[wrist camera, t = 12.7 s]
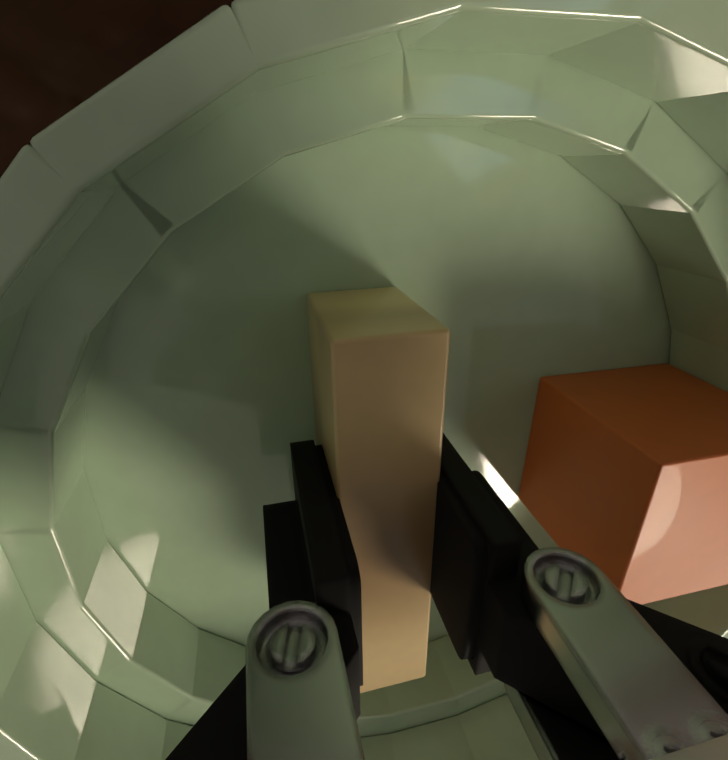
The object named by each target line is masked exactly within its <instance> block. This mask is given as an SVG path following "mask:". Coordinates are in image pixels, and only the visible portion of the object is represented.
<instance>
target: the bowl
mask: <svg viewBox="0 0 728 760" xmlns="http://www.w3.org/2000/svg"><path fill="white" fill-rule="evenodd" d="M30 143H31V144H27V145H25V146H22V147H21V149H20V150H19V152H18V153H17V154H16V156H15V157H14V159H13V160H12V161H11V163H10V164H9V166H8V167H7V169H6V170H5V171H4V173H3V174H2V176H1V177H0V760H165V759H166V758H167V757H168V756H169V754H170V753H171V752H172V751H173V750H174V748H175V747H176V746H177V745H178V744H179V743H180V741H181V740H182V739H183V738H184V737H185V735H186V734H187V733H188V732H189V731H190V730H191V728H192V727H193V726H194V725H195V724H196V723H197V721H198V720H199V719H200V718H201V717H202V715H203V714H204V713H205V712H206V711H207V710H208V708H209V707H210V706H211V705H212V704H213V702H214V701H215V700H216V699H217V698H218V697H219V695H220V694H221V693H222V692H223V691H224V689H225V688H226V687H227V686H228V685H229V684H230V682H231V681H232V680H233V679H234V678H235V676H236V675H237V674H238V673H239V672H240V671H241V669H242V668H243V667H244V666H245V665H246V654H245V650H246V643H247V637H248V635H249V633H250V631H251V629H252V627H253V625H254V623H255V622H256V621H257V620H258V619H259V618H260V617H261V616H262V614H263V613H265V612H266V611H268V610H269V598H268V582H267V566H266V550H265V535H264V519H263V505H269V504H275V503H281V502H287V501H293V500H295V492H294V481H293V471H292V461H291V451H290V443H292V442H299V441H306V440H314V443H315V445H317V443H316V429H315V414H314V399H313V384H312V369H311V354H310V339H309V324H308V309H307V295H308V294H309V293H314V292H328V291H341V290H355V289H369V288H383V287H397V288H398V289H400V290H401V291H402V292H403V293H405V294H406V295H407V296H408V297H410V298H411V299H412V300H413V301H415V302H416V303H417V304H418V305H420V306H421V307H422V308H423V309H425V310H426V311H427V312H428V313H430V314H431V315H432V316H433V317H435V318H436V319H437V320H438V321H440V322H441V323H442V324H443V325H445V326H446V327H447V328H448V329H449V331H450V341H449V355H448V369H447V383H446V397H445V411H444V425H443V433H444V434H445V436H446V437H447V438H448V440H449V441H450V442H451V444H452V445H453V447H454V448H455V449H456V451H457V452H458V453H459V455H460V456H461V457H462V459H463V460H464V461H465V463H466V464H467V465H468V467H469V468H470V469H471V471H474V470H476V471H479V472H480V473H481V474H482V475H483V476H484V478H485V479H486V480H487V482H488V483H489V484H490V485H491V487H492V488H493V489H494V491H495V492H496V493H497V495H498V496H499V497H500V498H501V500H502V501H503V502H504V504H505V505H506V506H507V508H508V509H509V510H510V512H511V513H512V514H513V515H514V517H515V518H516V519H517V521H518V522H519V523H520V525H521V526H522V527H523V528H524V530H525V531H526V532H527V534H528V535H529V536H530V538H531V539H532V540H533V542H534V543H535V544H536V545H537V547H538V548H539V549H541V548H545V547H558V545H557V544H556V543H555V542H554V540H553V539H552V538H551V537H550V536H549V534H548V533H547V532H546V531H545V529H544V528H543V527H542V526H541V525H540V523H539V522H538V521H537V520H536V519H535V517H534V516H533V515H532V514H531V512H530V511H529V510H528V509H527V508H526V506H525V505H524V504H523V503H522V502H521V500H520V499H519V491H520V485H521V480H522V474H523V469H524V463H525V458H526V452H527V447H528V441H529V436H530V430H531V425H532V419H533V414H534V408H535V403H536V397H537V392H538V386H539V381H540V378H541V377H544V376H554V375H563V374H572V373H581V372H591V371H600V370H609V369H618V368H628V367H637V366H646V365H655V364H665V363H667V364H669V365H672V366H674V367H676V368H678V369H680V370H682V371H684V372H686V373H688V374H690V375H693V376H695V377H697V378H699V379H701V380H703V381H705V382H707V383H709V384H712V385H714V386H716V387H718V388H720V389H722V390H724V391H726V392H728V0H234V1H233V2H232V3H231V7H229V6H228V5H221V6H220V7H218V8H217V9H215V10H214V11H213V12H211V13H210V14H208V15H207V16H205V17H204V18H202V19H201V20H200V21H198V22H197V23H195V24H194V25H192V26H191V27H189V28H188V29H187V30H185V31H184V32H182V33H181V34H179V35H178V36H177V37H175V38H174V39H172V40H171V41H169V42H168V43H166V44H165V45H164V46H162V47H161V48H159V49H158V50H156V51H155V52H153V53H152V54H151V55H149V56H148V57H146V58H145V59H143V60H142V61H140V62H139V63H138V64H136V65H135V66H133V67H132V68H130V69H129V70H128V71H126V72H125V73H123V74H122V75H120V76H119V77H117V78H116V79H115V80H113V81H112V82H110V83H109V84H107V85H106V86H104V87H103V88H102V89H100V90H99V91H97V92H96V93H94V94H93V95H91V96H90V97H89V98H87V99H86V100H84V101H83V102H81V103H80V104H79V105H77V106H76V107H74V108H73V109H71V110H70V111H68V112H67V113H66V114H64V115H63V116H61V117H60V118H58V119H57V120H55V121H54V122H53V123H51V124H50V125H48V126H47V127H45V128H44V129H43V130H41V131H40V132H38V133H37V134H35V135H34V136H33V137H32V139H31V141H30ZM642 605H644V606H646V607H649V608H651V609H654V610H656V611H659V612H661V613H664V614H667V615H669V616H672V617H674V618H677V619H679V620H682V621H684V622H687V623H689V624H692V625H695V626H697V627H700V628H702V629H705V630H707V631H710V632H712V633H715V634H717V635H720V636H722V637H725V638H727V639H728V584H727V585H723V586H718V587H714V588H710V589H706V590H701V591H697V592H693V593H689V594H685V595H680V596H676V597H672V598H668V599H664V600H659V601H655V602H651V603H647V604H642ZM360 711H361V714H360V716H359V717H358V719H357V724H358V729H359V734H360V738H361V743H362V748H363V752H364V757H365V760H539V759H538V757H537V755H536V753H535V751H534V749H533V747H532V745H531V743H530V741H529V739H528V737H527V735H526V733H525V731H524V729H523V727H522V725H521V722H520V720H519V718H518V716H517V714H516V712H515V710H514V708H513V706H512V704H511V702H510V700H509V698H508V696H507V693H506V690H505V687H504V683H503V682H501V681H499V680H497V679H496V678H494V677H493V675H492V672H491V671H490V672H486V673H482V674H479V675H475V674H474V672H473V670H472V668H471V665H470V663H469V661H468V659H464V660H461V659H460V658H459V657H458V655H457V653H456V651H455V648H454V646H453V644H452V642H451V639H450V637H449V635H448V632H447V630H446V628H445V626H444V623H443V621H442V619H441V616H440V614H439V612H438V610H437V607H436V605H435V603H434V600H433V598H432V596H431V606H430V620H429V634H428V648H427V662H426V675H425V676H424V677H421V678H418V679H414V680H410V681H406V682H402V683H398V684H394V685H391V686H387V687H383V688H379V689H375V690H371V691H367V692H363V693H360Z"/></svg>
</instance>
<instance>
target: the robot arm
mask: <svg viewBox="0 0 728 760" xmlns="http://www.w3.org/2000/svg"><path fill="white" fill-rule="evenodd" d="M290 451H291V461H292V471H293V481H294V492H295V500H293V501H287V502H281V503H275V504H269V505H263V519H264V535H265V550H266V566H267V582H268V598H269V610H268V611H266V612H265V613H263V614H262V616H261V617H260V618H259V619H258V620H257V621H256V622H255V623H254V625H253V627H252V629H251V631H250V633H249V635H248V637H247V643H246V650H245V654H246V665H245V666H244V667H243V668H242V669H241V671H240V672H239V673H238V674H237V675H236V676H235V678H234V679H233V680H232V681H231V682H230V684H229V685H228V686H227V687H226V688H225V689H224V691H223V692H222V693H221V694H220V695H219V697H218V698H217V699H216V700H215V701H214V702H213V704H212V705H211V706H210V707H209V708H208V710H207V711H206V712H205V713H204V714H203V715H202V717H201V718H200V719H199V720H198V721H197V723H196V724H195V725H194V726H193V727H192V728H191V730H190V731H189V732H188V733H187V734H186V735H185V737H184V738H183V739H182V740H181V741H180V743H179V744H178V745H177V746H176V747H175V748H174V750H173V751H172V752H171V753H170V754H169V756H168V757H167V758H166V759H165V760H365V757H364V752H363V748H362V743H361V738H360V734H359V729H358V724H357V719H358V717H359V716H360V714H361V711H360V686H363V647H362V600H361V578H360V571H359V566H358V561H357V558H356V554H355V551H354V547H353V544H352V540H351V537H350V534H349V530H348V527H347V523H346V520H345V516H344V513H343V510H342V506H341V503H340V499H339V498H338V497H337V496H336V492H335V489H334V485H333V482H332V478H331V475H330V471H329V468H328V464H327V461H326V457H325V454H324V450H323V447H322V445H315V443H314V440H306V441H299V442H292V443H290ZM430 593H431V596H432V598H433V600H434V603H435V605H436V607H437V610H438V612H439V614H440V616H441V619H442V621H443V623H444V626H445V628H446V630H447V632H448V635H449V637H450V639H451V642H452V644H453V646H454V648H455V651H456V653H457V655H458V657H459V658H460V659H461V660H464V659H468V661H469V663H470V665H471V668H472V670H473V672H474V674H475V675H479V674H482V673H486V672H490V671H491V672H492V675H493V677H494V678H496V679H497V680H499V681H501V682H503V683H504V687H505V690H506V693H507V696H508V698H509V700H510V702H511V704H512V706H513V708H514V710H515V712H516V714H517V716H518V718H519V720H520V722H521V725H522V727H523V729H524V731H525V733H526V735H527V737H528V739H529V741H530V743H531V745H532V747H533V749H534V751H535V753H536V755H537V757H538V759H539V760H728V639H727V638H725V637H722V636H720V635H717V634H715V633H712V632H710V631H707V630H705V629H702V628H700V627H697V626H695V625H692V624H689V623H687V622H684V621H682V620H679V619H677V618H674V617H672V616H669V615H667V614H664V613H661V612H659V611H656V610H654V609H651V608H649V607H646V606H644V605H641V604H639V603H636V602H634V601H631V600H628V599H626V597H625V596H624V595H623V594H622V593H621V592H620V591H619V589H618V588H617V587H616V586H615V585H614V584H613V583H612V581H611V580H610V579H609V578H608V577H607V576H606V575H605V573H604V572H603V571H602V570H601V569H600V568H599V567H598V566H597V565H596V564H595V563H593V562H592V561H591V560H590V559H588V558H586V557H585V556H583V555H581V554H580V553H577V552H574V551H571V550H569V549H565V548H559V547H545V548H541V549H539V548H538V547H537V545H536V544H535V543H534V542H533V540H532V539H531V538H530V536H529V535H528V534H527V532H526V531H525V530H524V528H523V527H522V526H521V525H520V523H519V522H518V521H517V519H516V518H515V517H514V515H513V514H512V513H511V512H510V510H509V509H508V508H507V506H506V505H505V504H504V502H503V501H502V500H501V498H500V497H499V496H498V495H497V493H496V492H495V491H494V489H493V488H492V487H491V485H490V484H489V483H488V482H487V480H486V479H485V478H484V476H483V475H482V474H481V473H480V472H479V471H476V470H474V471H471V469H470V468H469V467H468V465H467V464H466V463H465V461H464V460H463V459H462V457H461V456H460V455H459V453H458V452H457V451H456V449H455V448H454V447H453V445H452V444H451V442H450V441H449V440H448V438H447V437H446V436H445V434H444V433H443V439H442V453H441V467H440V481H439V482H438V483H437V497H436V511H435V526H434V540H433V555H432V570H431V584H430Z"/></svg>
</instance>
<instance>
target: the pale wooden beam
mask: <svg viewBox="0 0 728 760" xmlns="http://www.w3.org/2000/svg"><path fill="white" fill-rule="evenodd" d="M307 309H308V324H309V339H310V354H311V369H312V384H313V399H314V414H315V429H316V443H317V445H322V447H323V450H324V454H325V457H326V461H327V464H328V468H329V471H330V475H331V478H332V482H333V485H334V489H335V492H336V496H337V497H338V498H339V499H340V503H341V506H342V510H343V513H344V516H345V520H346V523H347V527H348V530H349V534H350V537H351V540H352V544H353V547H354V551H355V554H356V558H357V561H358V566H359V571H360V578H361V600H362V647H363V686H360V693H363V692H367V691H371V690H375V689H379V688H383V687H387V686H391V685H394V684H398V683H402V682H406V681H410V680H414V679H418V678H421V677H424V676H425V675H426V662H427V648H428V634H429V620H430V606H431V593H430V584H431V570H432V555H433V540H434V526H435V511H436V497H437V483H438V482H439V481H440V467H441V453H442V439H443V425H444V411H445V397H446V383H447V369H448V355H449V341H450V331H449V329H448V328H447V327H446V326H445V325H443V324H442V323H441V322H440V321H438V320H437V319H436V318H435V317H433V316H432V315H431V314H430V313H428V312H427V311H426V310H425V309H423V308H422V307H421V306H420V305H418V304H417V303H416V302H415V301H413V300H412V299H411V298H410V297H408V296H407V295H406V294H405V293H403V292H402V291H401V290H400V289H398V288H397V287H383V288H369V289H355V290H341V291H328V292H314V293H309V294H308V295H307Z"/></svg>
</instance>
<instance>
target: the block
mask: <svg viewBox="0 0 728 760" xmlns="http://www.w3.org/2000/svg"><path fill="white" fill-rule="evenodd" d="M519 499H520V500H521V502H522V503H523V504H524V505H525V506H526V508H527V509H528V510H529V511H530V512H531V514H532V515H533V516H534V517H535V519H536V520H537V521H538V522H539V523H540V525H541V526H542V527H543V528H544V529H545V531H546V532H547V533H548V534H549V536H550V537H551V538H552V539H553V540H554V542H555V543H556V544H557V545H558V547H559V548H565V549H569V550H571V551H574V552H577V553H580V554H581V555H583V556H585V557H586V558H588V559H590V560H591V561H592V562H593V563H595V564H596V565H597V566H598V567H599V568H600V569H601V570H602V571H603V572H604V573H605V575H606V576H607V577H608V578H609V579H610V580H611V581H612V583H613V584H614V585H615V586H616V587H617V588H618V589H619V591H620V592H621V593H622V594H623V595H624V596H625V597H626V599H628V600H631V601H634V602H636V603H639V604H641V605H642V604H647V603H651V602H655V601H659V600H664V599H668V598H672V597H676V596H680V595H685V594H689V593H693V592H697V591H701V590H706V589H710V588H714V587H718V586H723V585H727V584H728V392H726V391H724V390H722V389H720V388H718V387H716V386H714V385H712V384H709V383H707V382H705V381H703V380H701V379H699V378H697V377H695V376H693V375H690V374H688V373H686V372H684V371H682V370H680V369H678V368H676V367H674V366H672V365H669V364H667V363H665V364H655V365H646V366H637V367H628V368H618V369H609V370H600V371H591V372H581V373H572V374H563V375H554V376H544V377H541V378H540V381H539V386H538V392H537V397H536V403H535V408H534V414H533V419H532V425H531V430H530V436H529V441H528V447H527V452H526V458H525V463H524V469H523V474H522V480H521V485H520V491H519Z"/></svg>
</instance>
